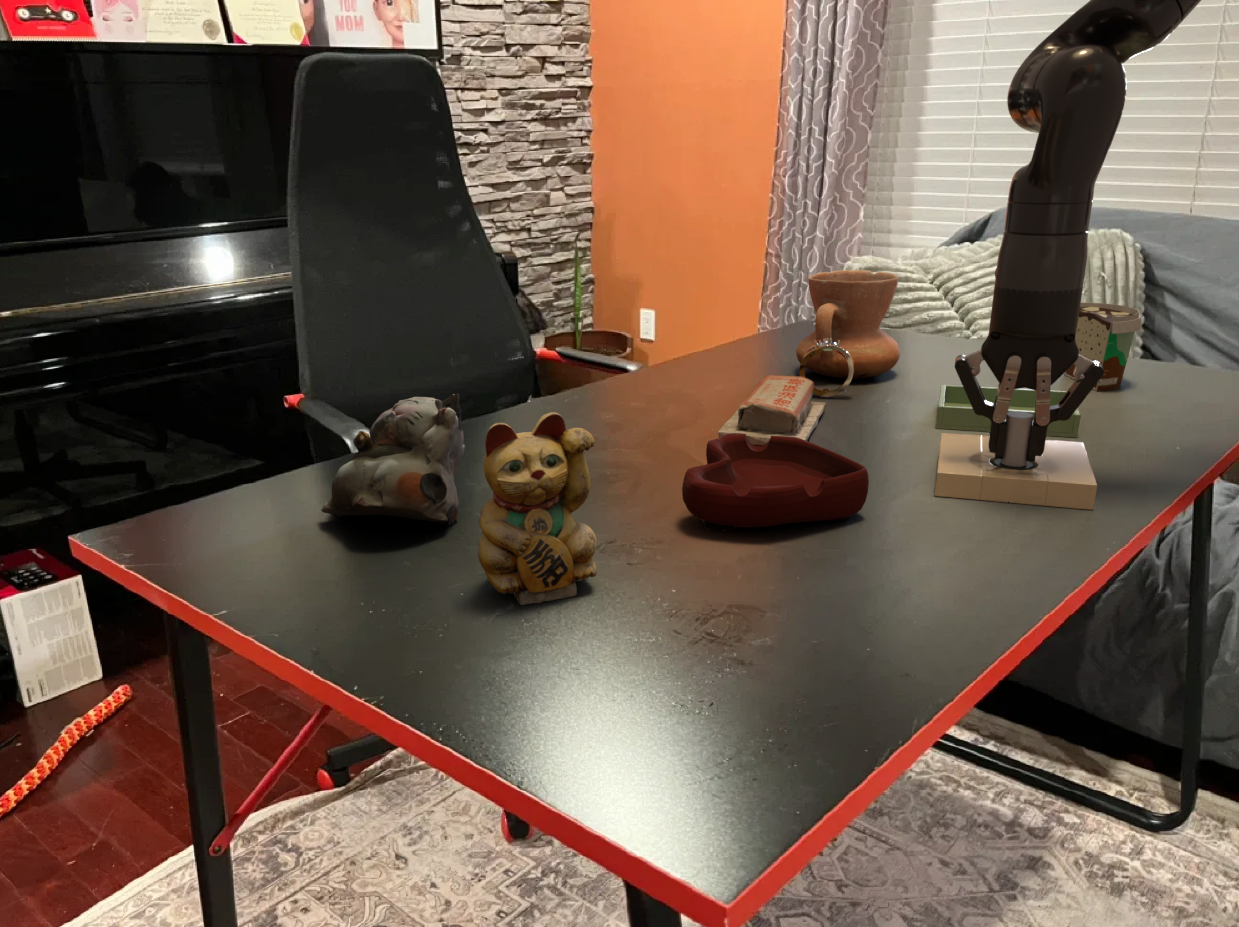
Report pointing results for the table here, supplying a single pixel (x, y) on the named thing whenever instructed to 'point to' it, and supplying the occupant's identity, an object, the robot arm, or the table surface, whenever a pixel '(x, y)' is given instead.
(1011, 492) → the sink deck
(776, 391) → the packaged product
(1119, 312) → the food container
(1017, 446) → the plug
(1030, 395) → the tray
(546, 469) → the decorative figurine
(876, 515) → the table surface
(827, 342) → the ring
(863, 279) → the ceramic jug
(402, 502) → the lucky cat figurine
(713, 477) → the ashtray
